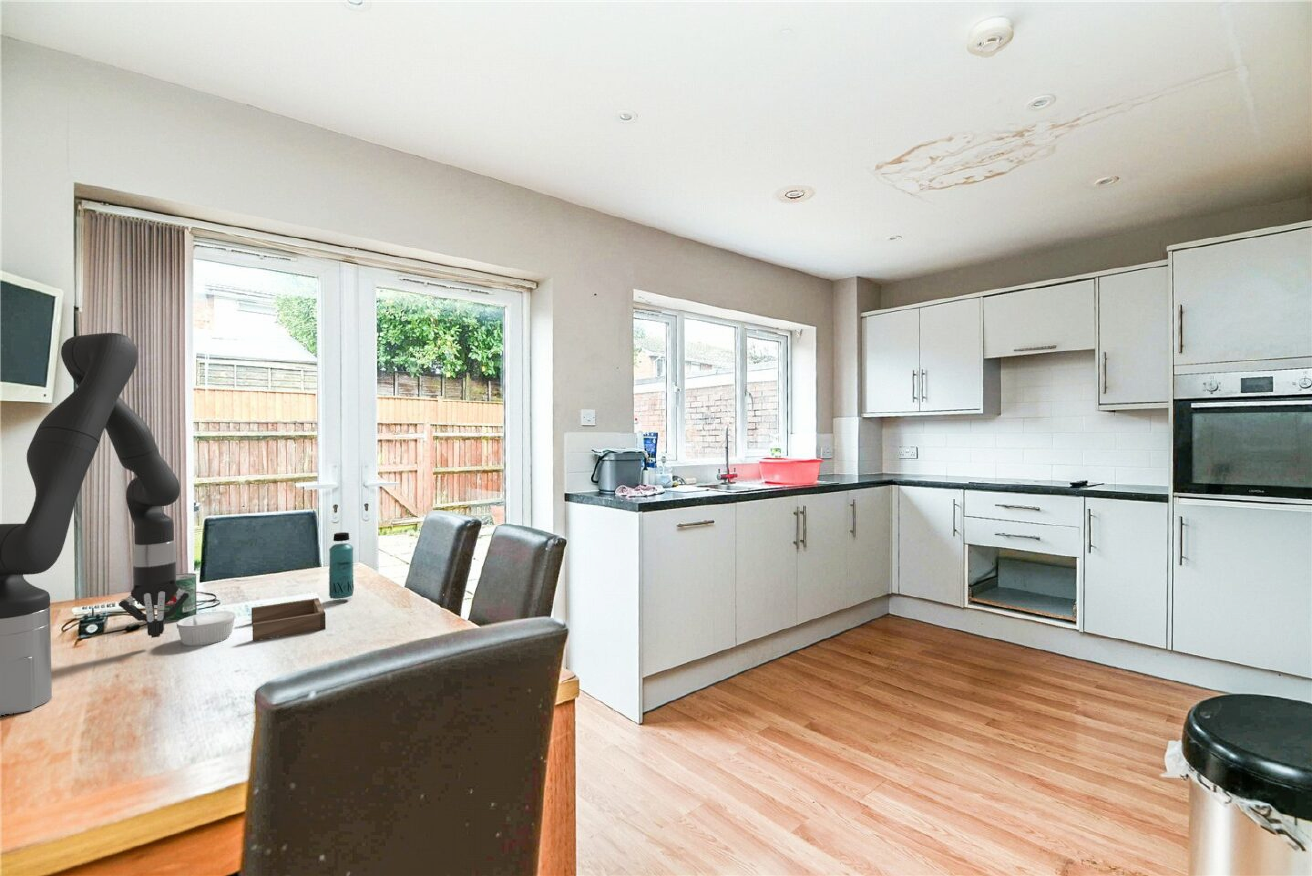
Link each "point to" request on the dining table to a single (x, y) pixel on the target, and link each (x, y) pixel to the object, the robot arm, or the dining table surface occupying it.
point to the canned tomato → (189, 606)
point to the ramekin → (206, 628)
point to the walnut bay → (287, 618)
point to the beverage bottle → (341, 568)
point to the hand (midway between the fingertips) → (156, 636)
